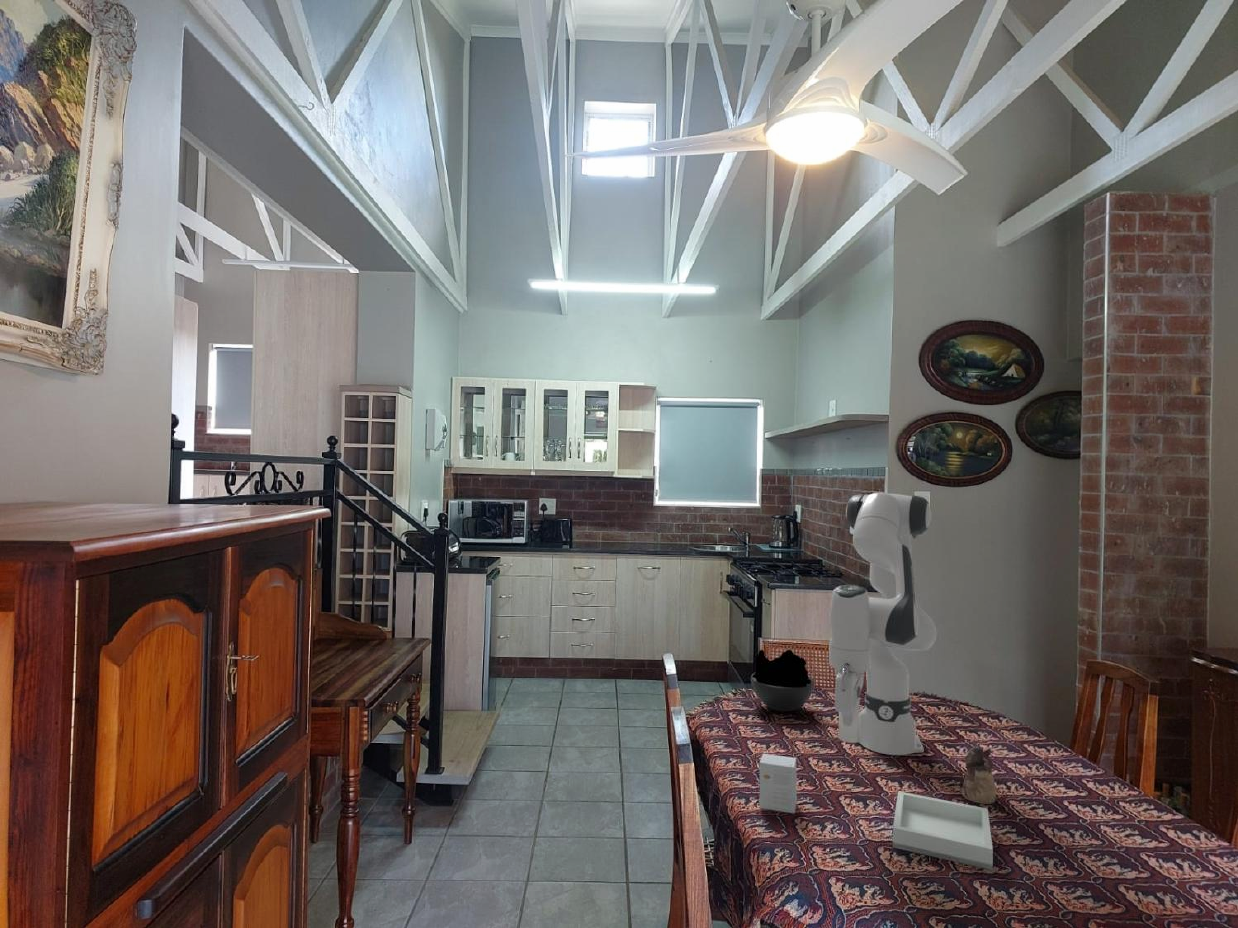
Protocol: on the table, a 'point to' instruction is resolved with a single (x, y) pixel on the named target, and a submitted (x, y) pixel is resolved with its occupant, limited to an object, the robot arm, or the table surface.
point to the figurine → (979, 777)
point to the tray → (943, 830)
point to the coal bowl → (782, 681)
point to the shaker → (851, 732)
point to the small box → (778, 783)
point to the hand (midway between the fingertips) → (849, 720)
